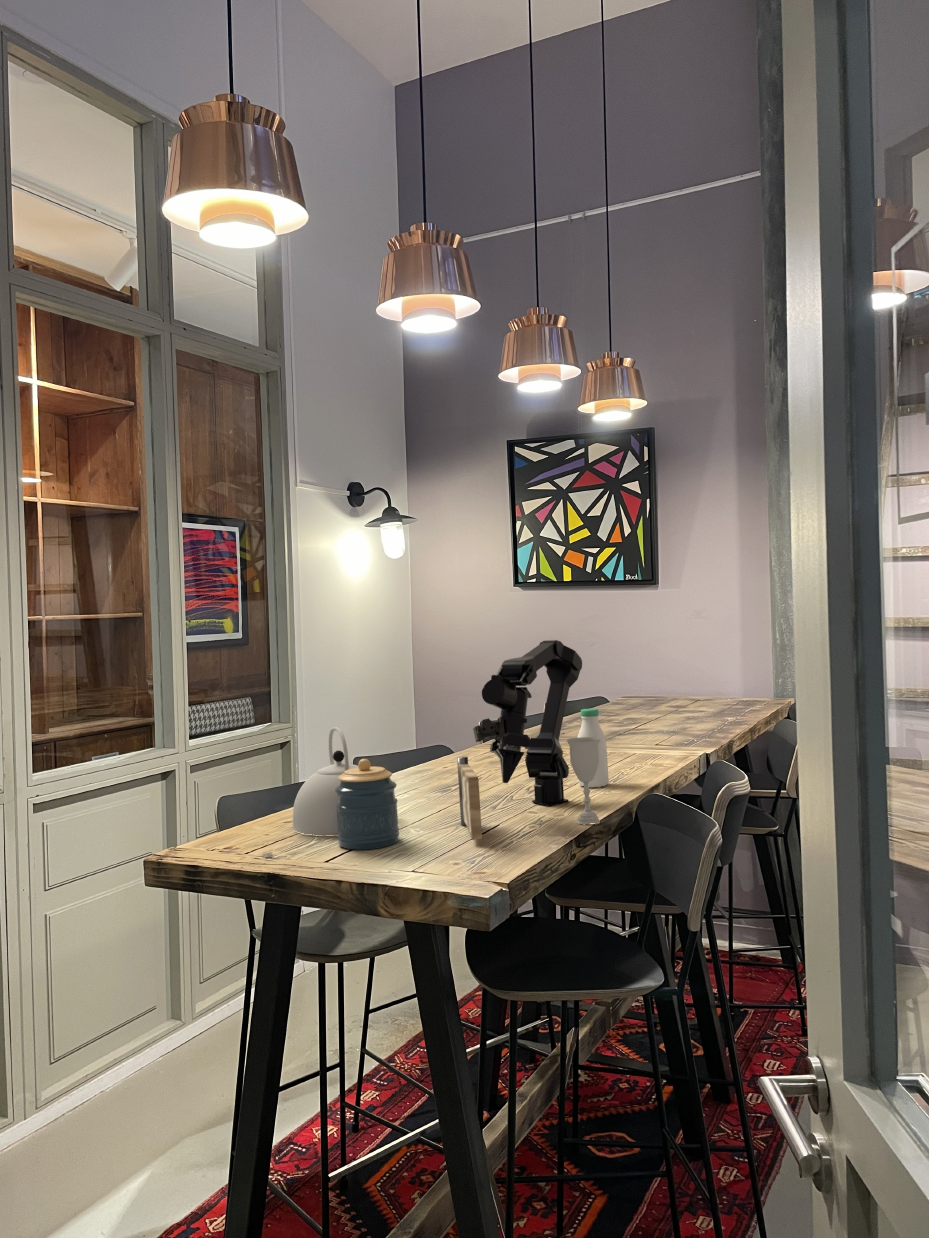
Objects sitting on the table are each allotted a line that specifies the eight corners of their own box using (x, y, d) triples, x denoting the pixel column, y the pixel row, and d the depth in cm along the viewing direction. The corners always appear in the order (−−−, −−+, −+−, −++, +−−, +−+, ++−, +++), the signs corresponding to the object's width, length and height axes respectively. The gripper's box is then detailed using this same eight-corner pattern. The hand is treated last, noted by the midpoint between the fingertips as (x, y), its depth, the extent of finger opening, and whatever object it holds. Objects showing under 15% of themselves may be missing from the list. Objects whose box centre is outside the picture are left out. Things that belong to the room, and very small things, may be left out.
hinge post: (467, 823, 204) (463, 756, 204) (474, 824, 202) (469, 757, 202) (458, 824, 203) (454, 757, 203) (465, 826, 201) (461, 758, 201)
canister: (347, 854, 183) (342, 766, 183) (330, 841, 195) (325, 758, 195) (408, 844, 188) (403, 759, 188) (388, 832, 200) (383, 751, 200)
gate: (462, 821, 200) (459, 764, 200) (471, 820, 201) (468, 764, 201) (472, 839, 184) (468, 777, 184) (482, 838, 184) (478, 776, 184)
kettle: (284, 819, 220) (278, 726, 220) (375, 807, 227) (370, 717, 227) (302, 842, 196) (295, 737, 196) (403, 827, 204) (397, 727, 204)
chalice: (608, 818, 200) (603, 737, 200) (602, 826, 193) (597, 741, 193) (575, 818, 202) (570, 737, 202) (568, 825, 196) (563, 742, 196)
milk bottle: (613, 783, 239) (609, 707, 239) (601, 789, 233) (596, 711, 233) (586, 782, 244) (582, 707, 243) (574, 787, 237) (569, 710, 237)
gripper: (472, 714, 215) (464, 780, 211) (484, 702, 197) (475, 774, 193) (519, 721, 216) (511, 787, 212) (534, 709, 198) (526, 782, 194)
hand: (505, 782), depth 203 cm, fingers closed
